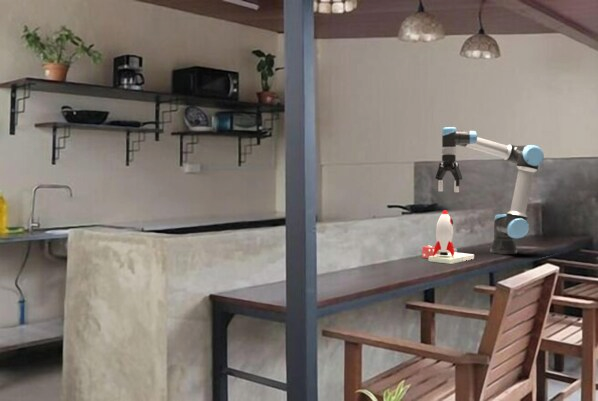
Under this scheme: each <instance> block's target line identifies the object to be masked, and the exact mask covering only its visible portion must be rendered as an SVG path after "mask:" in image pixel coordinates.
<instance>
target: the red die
mask: <svg viewBox="0 0 598 401" xmlns="http://www.w3.org/2000/svg"><path fill="white" fill-rule="evenodd" d="M434 249H435V246H432V245H426V246H422V251H421V253H422V254H421V257H422V259H424V258H425V259H429V256H433V254H434ZM435 255H437V252H436V254H435Z"/></svg>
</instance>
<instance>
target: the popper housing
mask: <svg viewBox="0 0 598 401" xmlns="http://www.w3.org/2000/svg"><path fill="white" fill-rule="evenodd" d="M454 252H456V253H458V249H457V248H455V247H454ZM440 253H441V252H439V250H438V251H437V255H439V254H440ZM447 253H450V251H448V252H447Z"/></svg>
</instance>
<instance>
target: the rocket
mask: <svg viewBox="0 0 598 401" xmlns="http://www.w3.org/2000/svg"><path fill="white" fill-rule="evenodd" d="M435 236H436V237H435V238H436V244H435V246H434V247H435V249H434V254H433V257H434V255H435V254H436V252H437V251H438V250H439V252H441V253H440V254H439V255H448V253H447V252H448V251H450V253H451V255H452V257H453V255H454V248H455V247H454V244H453V242H452V241H453V237H454V220H453V218H451V216H450V215H449V213H448V211H447V210H445V209H444V210H443V211H442V213H441V214H440V216H439V218H438V220H437V223H436V228H435ZM453 258H454V257H453Z"/></svg>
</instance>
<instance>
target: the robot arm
mask: <svg viewBox="0 0 598 401" xmlns="http://www.w3.org/2000/svg"><path fill="white" fill-rule="evenodd" d="M441 138H442V139H441V142H442V145H441V146H442V148H441V151H442V152H441V153H442V155H441V161H442V162H439V163H438V164H439V165H438V168H437V172H436V174H435V179H436V180H437V185H438V186H437V187H438V188H437V189H438V191H437V192H444V180H443V178H444V177H445V175H446V173H447V172H450V173H451V174H452V176H453V178H454V183H453V185H454V186H453V189H454V190H453V191H454V193H459V192H460V181H462V180H463V175H462V173H461V169H460V166H459V162H456V161H457V160H456V158H457V157H456V153H457V151H456V150H457V148H456V147H457V146H460V147H464V148H466V149H467V148H468V149H471V150H475V151H479V152H481V153H485V154H489V155H493V156H497V157H499V158H502V159H503V160H504V161H506V162H511V163H513V164H516V168H517V170H518V172H517V177H516V181H515V186H514V192H513V195H512V201H511V205H510V210H509V211H508V212H506V214H505V213H504V214H502V213H501V214H496V215H494V222H493V223H494V224H493V225H494V226H493V240H492V243H491V246H490V249H489V250H490V251H489V252H490V253H493V254H501V255H516V254H517V253H518V250H517V246H516V242H515V239H521V238H523V237H525V236H526V235H527V234H528V233H529V230H530V225H529V223H528V218H529V217H528V215H527V207H528V204H529V199H530V193H531V188H532V184H533V178H534V174H535V173H536V172H537V171H538V168H539V165H541V164H542V162H543V160H544V152H543V150H542V149H541V148H540V146H538V145H534V144H527V145H514V144H507V145H506V144H503V143H499V142H495V141H493V140H489V139H485V138H482V137H478V134H477V131H475V130H457V127H454V126H451V127H450V126H448V127H447V126H446V127H443V128H442V134H441Z"/></svg>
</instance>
